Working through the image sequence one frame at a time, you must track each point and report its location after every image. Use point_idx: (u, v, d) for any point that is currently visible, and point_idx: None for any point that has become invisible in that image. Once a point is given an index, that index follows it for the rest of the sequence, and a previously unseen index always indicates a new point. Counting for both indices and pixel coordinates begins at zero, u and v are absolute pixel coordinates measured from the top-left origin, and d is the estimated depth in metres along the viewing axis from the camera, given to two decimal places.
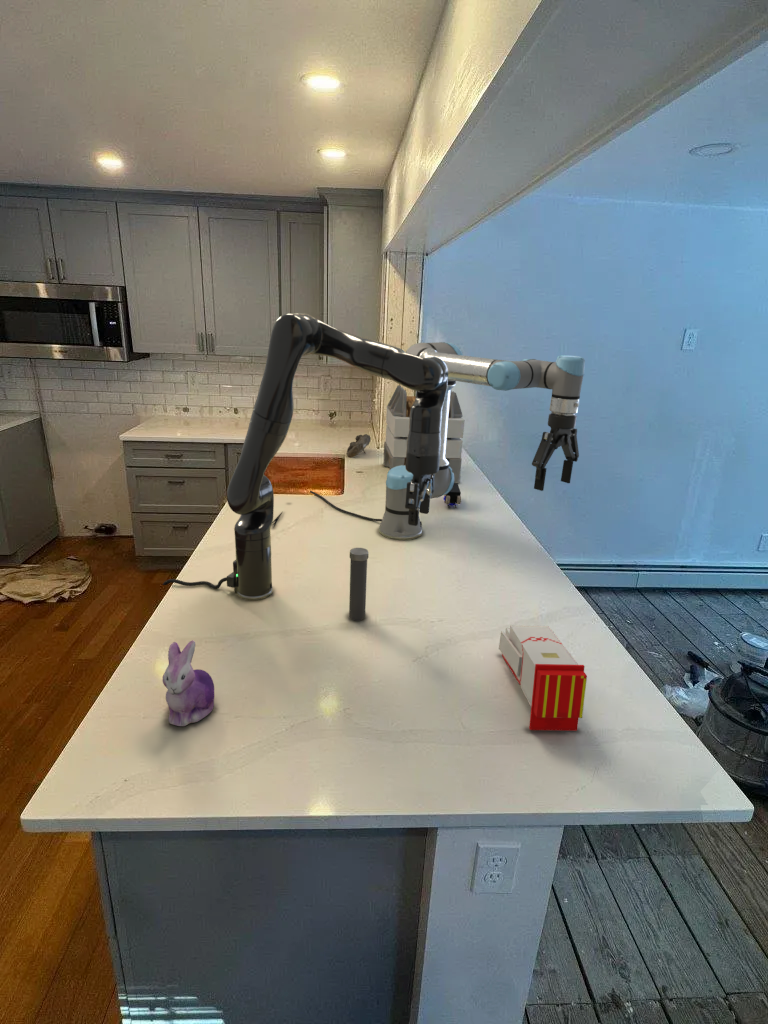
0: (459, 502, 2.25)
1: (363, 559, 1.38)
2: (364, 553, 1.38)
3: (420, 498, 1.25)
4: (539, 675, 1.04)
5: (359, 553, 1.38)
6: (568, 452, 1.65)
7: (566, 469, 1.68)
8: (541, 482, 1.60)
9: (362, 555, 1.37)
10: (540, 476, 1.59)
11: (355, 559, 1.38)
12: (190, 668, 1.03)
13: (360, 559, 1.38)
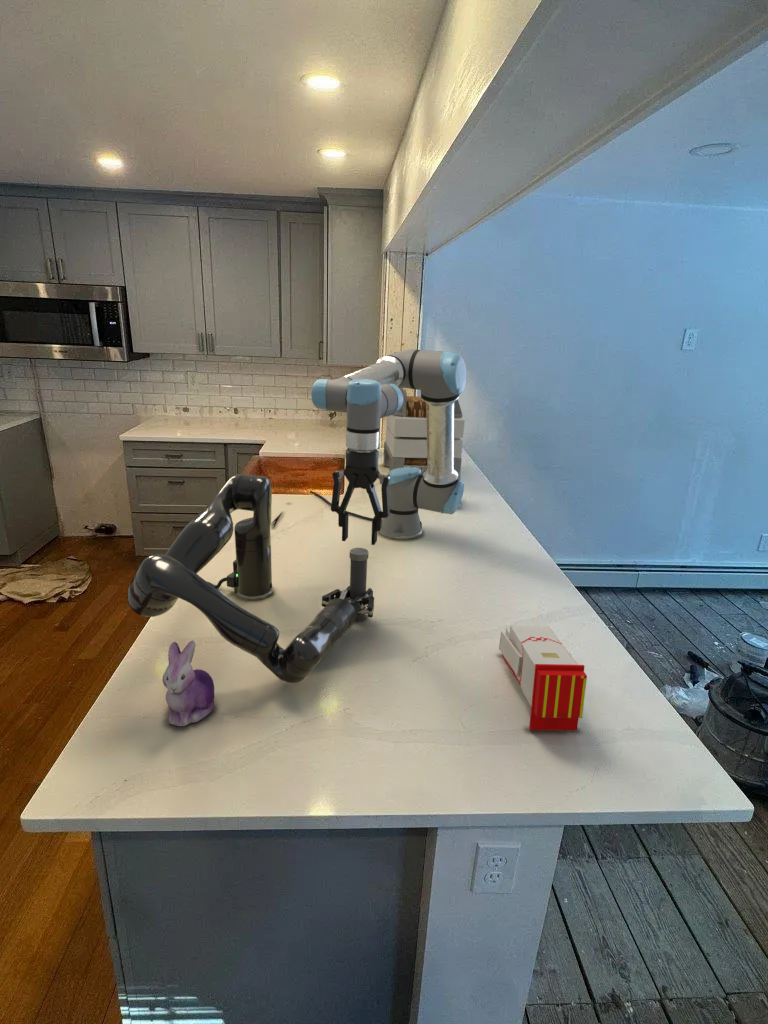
0: None
1: (363, 559, 1.38)
2: (364, 553, 1.38)
3: (363, 598, 1.39)
4: (539, 675, 1.04)
5: (359, 553, 1.38)
6: (349, 499, 1.36)
7: (346, 524, 1.38)
8: (376, 532, 1.37)
9: (362, 555, 1.37)
10: None
11: (355, 559, 1.38)
12: (190, 668, 1.03)
13: (360, 559, 1.38)
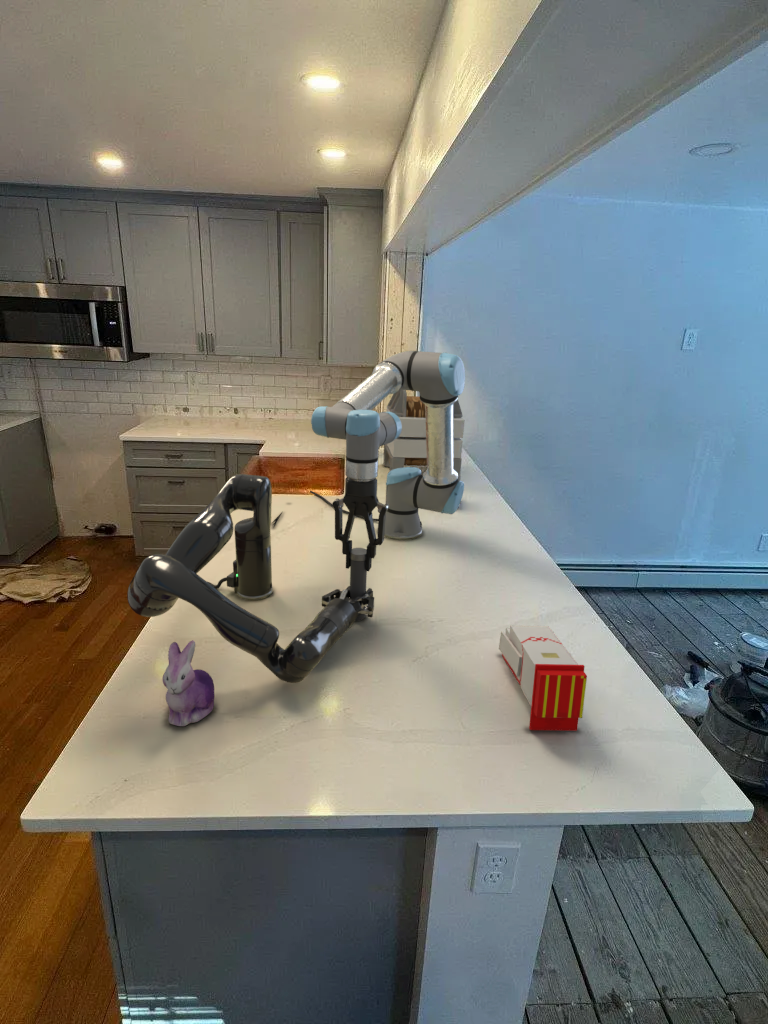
0: None
1: (363, 559, 1.38)
2: (364, 553, 1.38)
3: (363, 598, 1.39)
4: (539, 675, 1.04)
5: (359, 553, 1.38)
6: (351, 526, 1.38)
7: None
8: (371, 559, 1.40)
9: (362, 555, 1.37)
10: None
11: (355, 559, 1.38)
12: (190, 668, 1.03)
13: (360, 559, 1.38)
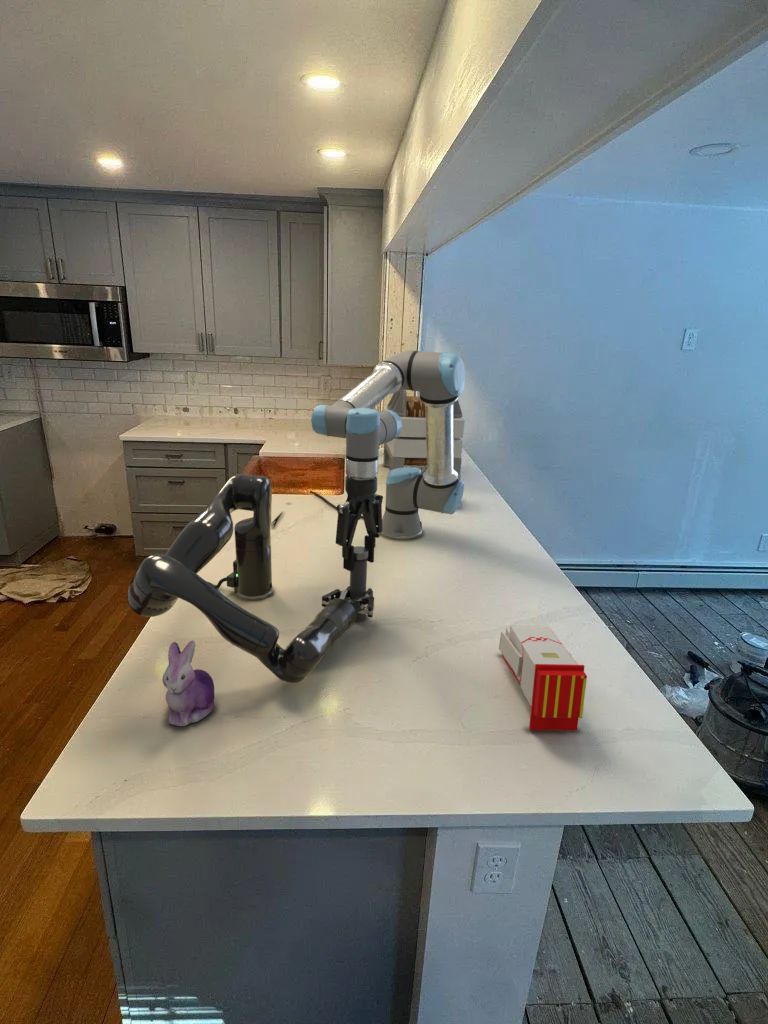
0: None
1: None
2: (362, 547, 1.41)
3: (362, 598, 1.39)
4: (539, 675, 1.04)
5: (364, 549, 1.40)
6: None
7: None
8: None
9: None
10: None
11: (367, 555, 1.39)
12: (190, 668, 1.03)
13: None
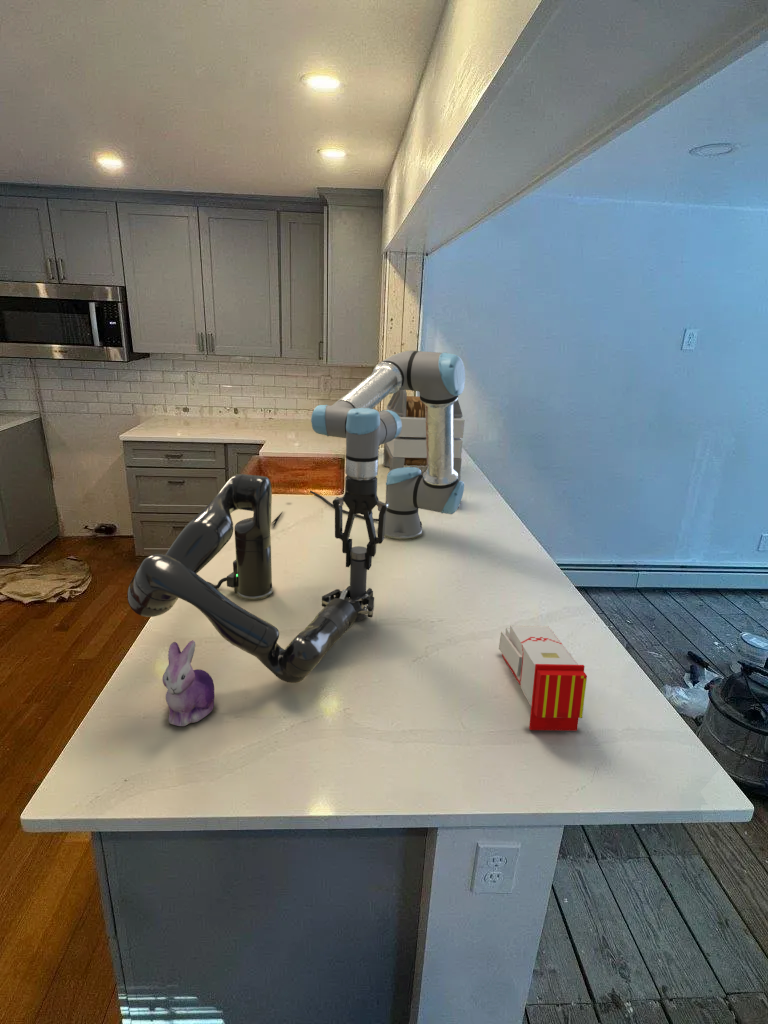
0: None
1: None
2: (362, 547, 1.41)
3: (362, 598, 1.39)
4: (539, 675, 1.04)
5: (364, 549, 1.40)
6: (351, 525, 1.38)
7: None
8: (371, 557, 1.40)
9: None
10: None
11: None
12: (190, 668, 1.03)
13: None
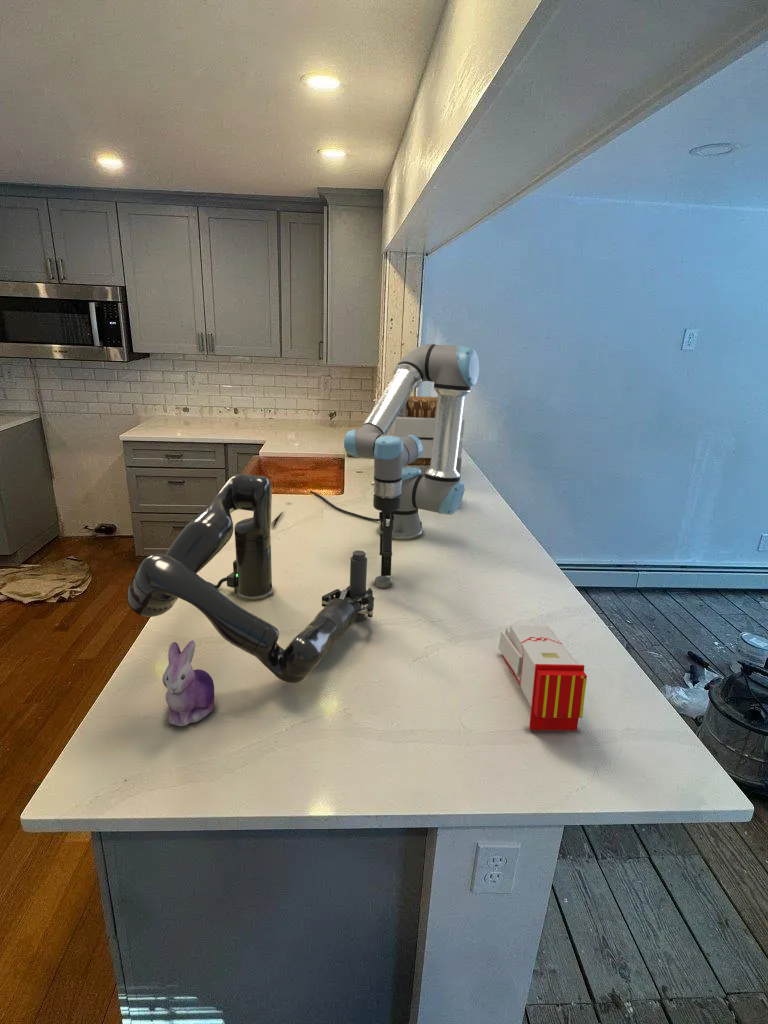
0: None
1: None
2: (376, 578, 1.63)
3: (362, 598, 1.39)
4: (539, 675, 1.04)
5: (380, 577, 1.63)
6: None
7: None
8: None
9: None
10: None
11: None
12: (190, 668, 1.03)
13: None
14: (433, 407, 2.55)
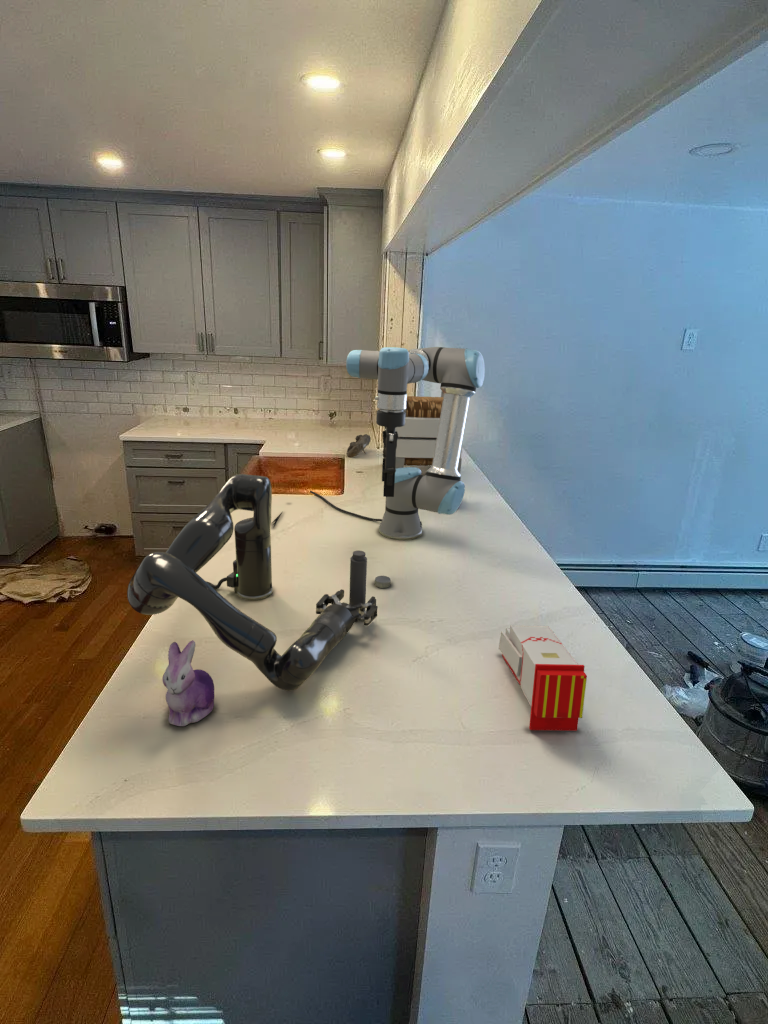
0: None
1: None
2: (376, 578, 1.63)
3: (363, 606, 1.36)
4: (539, 675, 1.04)
5: (380, 577, 1.63)
6: None
7: None
8: None
9: None
10: None
11: None
12: (190, 668, 1.03)
13: None
14: (433, 407, 2.55)
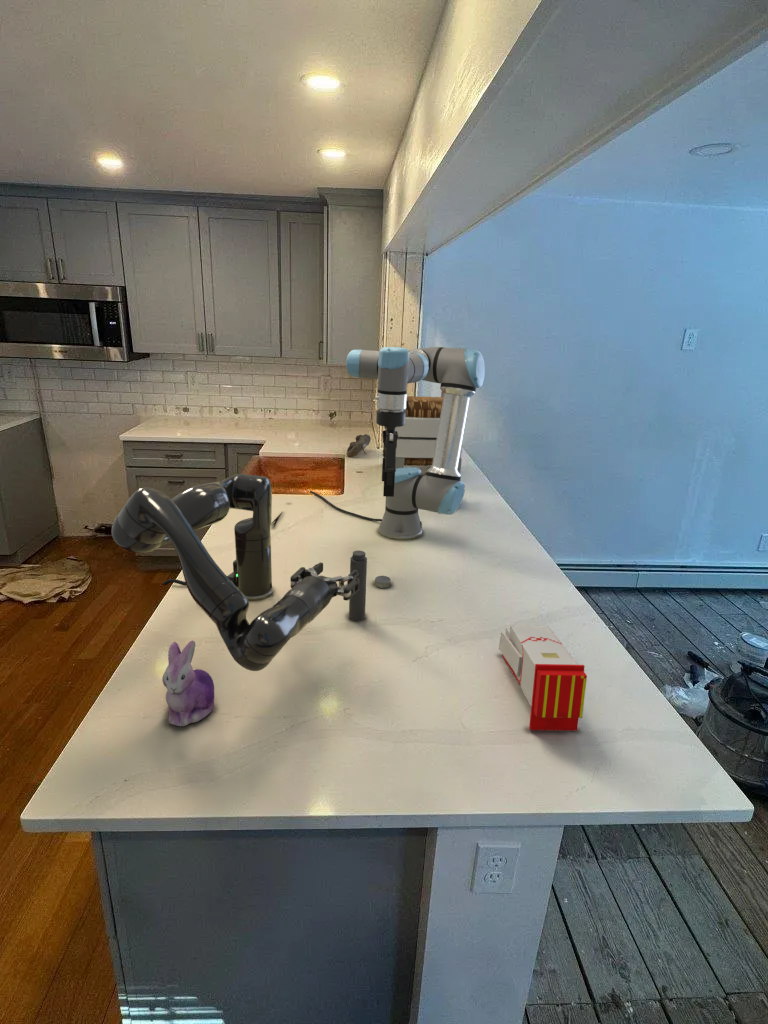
0: None
1: None
2: (376, 578, 1.63)
3: (343, 579, 1.21)
4: (539, 675, 1.04)
5: (380, 577, 1.63)
6: None
7: None
8: None
9: None
10: None
11: None
12: (190, 668, 1.03)
13: None
14: (433, 407, 2.55)
